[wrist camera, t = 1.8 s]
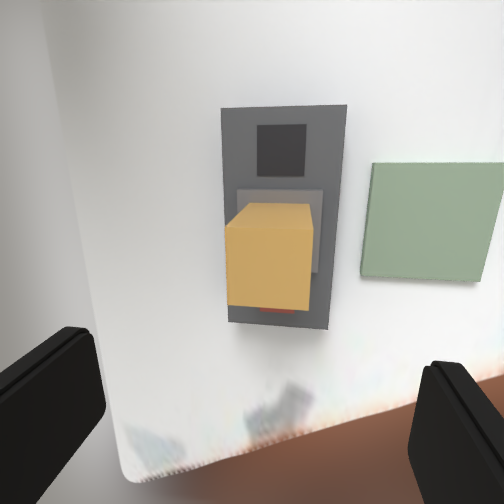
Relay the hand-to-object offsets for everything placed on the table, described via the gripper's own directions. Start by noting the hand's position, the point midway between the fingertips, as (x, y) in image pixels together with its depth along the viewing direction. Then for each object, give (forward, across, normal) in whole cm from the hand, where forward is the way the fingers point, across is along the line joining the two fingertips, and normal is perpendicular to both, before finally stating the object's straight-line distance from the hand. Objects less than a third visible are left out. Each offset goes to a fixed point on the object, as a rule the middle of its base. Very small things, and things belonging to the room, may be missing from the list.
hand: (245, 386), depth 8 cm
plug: (+21, 0, -1) cm, 21 cm away
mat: (+21, -12, -1) cm, 24 cm away
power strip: (+21, 0, -1) cm, 21 cm away
